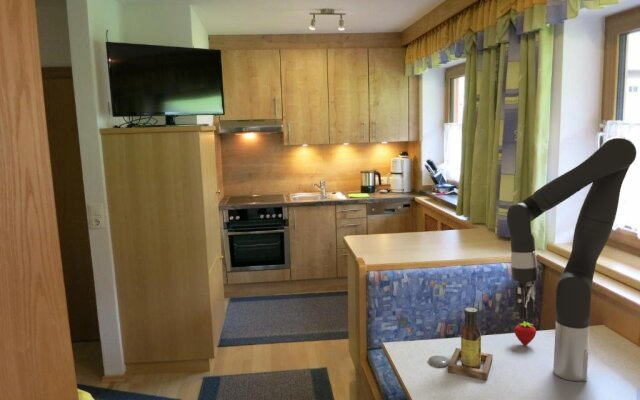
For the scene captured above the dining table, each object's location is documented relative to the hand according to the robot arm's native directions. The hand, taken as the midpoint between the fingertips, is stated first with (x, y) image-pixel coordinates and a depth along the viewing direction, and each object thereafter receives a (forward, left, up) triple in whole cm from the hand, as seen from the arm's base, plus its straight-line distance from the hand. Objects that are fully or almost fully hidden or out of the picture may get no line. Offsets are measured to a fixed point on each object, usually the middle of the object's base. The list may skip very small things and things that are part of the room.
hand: (527, 315), depth 150 cm
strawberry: (+1, -17, -18) cm, 25 cm away
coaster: (+26, +7, -18) cm, 33 cm away
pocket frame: (+16, +6, -18) cm, 25 cm away
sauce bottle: (+16, +6, -18) cm, 25 cm away
